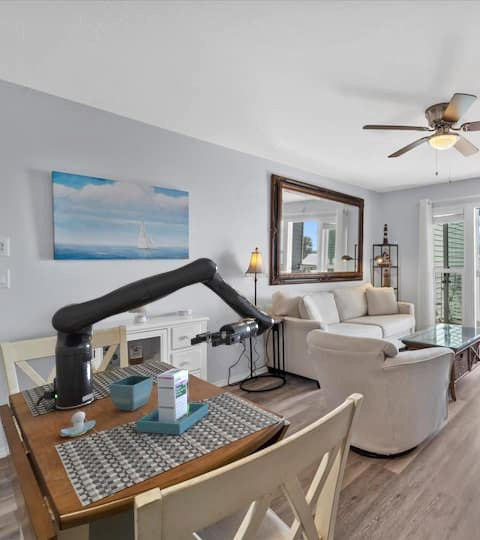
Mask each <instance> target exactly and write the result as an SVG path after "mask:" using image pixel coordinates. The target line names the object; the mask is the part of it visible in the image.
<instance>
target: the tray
mask: <svg viewBox="0 0 480 540" xmlns="http://www.w3.org/2000/svg"><path fill="white" fill-rule="evenodd" d="M208 414H209V403H202V402H201V403H200V402H189V416H188V417H187V418H186V419H184V420H183V421H181V422H180V423H169V422H159V409H158V408H156V409H154V410H152V411H151V412H149V413H147V414H146V415H144V416H142V417H141V418H138V419H137V420H136V421H135V433H149V434H150V433H151V434H163V435H164V434H165V435H176V436H177V435H178V436H180V435H181V434H183V433H184V432H185V431H187V430H188V429H189V428H191V427H192V426H193V425H194V424H196V423H197V422H199V421H200V420H201V419H203V418H204V417H205V416H206V415H208Z"/></svg>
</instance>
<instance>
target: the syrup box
mask: <svg viewBox="0 0 480 540" xmlns="http://www.w3.org/2000/svg"><path fill="white" fill-rule="evenodd" d="M156 377H157V378H156V379H157V403H158V404H157V405H158V408H157V409H159V422H169V423H180V422H181V421H183V420H184V419H186V418H187V417H188V416H189V403H190V391H189V389H190V388H189V387H190V386H189V370H188V369H186V368H171V369H169V370H166V371H164V372H161V373H159V374H157V376H156Z"/></svg>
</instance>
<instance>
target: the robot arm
mask: <svg viewBox="0 0 480 540" xmlns="http://www.w3.org/2000/svg"><path fill="white" fill-rule="evenodd" d="M197 284H202V285H203V286H204V287H206V288H207V289H209V290H210V291H212V292H213V293H214V294H215V295H217V296H218V297H219V298H220V299H221V301H222V302H224V303H225V304H226V305H227V306H228V307H229V308H230V309H231V310H232V311H233V312H234V313H235V314H236V315H238V317H240V318H241V319H242V320H239V321H233V322H230V323H225V324H223V325H222V326H221V327H220V328H219V329H218V330H215V331H205V332H202V333H197V334H196V335H195V337H193V338H191V339H190V346H196V345H199V344H203V343H206V344H211V347H212V348H216V347H219V346H232V345H234V344H237V343H240V342H243V341H245V340H247V339H249V338H257V337H260V336H262V335H263V334H264V333H266V332H267V331H268V330H270V329H271V328H272V327H273V326H274V324H275V320H274V318H273V316H272V315H271V314H270V313H269V312H267V311H265V310H263V309H262V308H260V307H258V306H256V305H254V304H253V303H252V302H251V301H250V300H249V299H248V298H247V297H246V296H245V295H244V294H243V293H241V292H240V291H239V290H238V289H236V288H235V287H233V286H232V285H231V284H230V283H228V282H227V281H226V280H225V279H224V278H223V277H222V276H221V274H220V273H219V272H218V265H217V263H216V262H215V261H214V260H213V259H211V258H208V257H199V258H197V259H195V260H193V261H191V262H189V263H187V264H185V265H183V266H181V267H178V268H175V269H172V270H169V271H168V270H167V271H165V272H160V273H157V274H153V275H150V276H146V277H143V278H140V279H137V280H134V281H132V282H129V283H126V284H125V285H122V286H120V287H117V288H116V289H114V290H111V291H110V292H108V293H106V294H104V295H101V296H99V297H96V298H93V299H90V300H89V299H88V300H85V301H83V302H73V303H69V304H68V303H67V304H66V305H64V306H62V307H60V308H58V309H57V310H56V311H55V312H54V314H53V315H52V317H51V326H52V328H53V329H54V330H55V331H56V343H55V347H54V359H55V363H54V364H55V377H54V378H53V381H52V382H53V388H50V389H48V390H45V391H43V395H42V396H40V397H39V398H38V399H37V401H36V403H35V407H39V406H40V404H41V402H42V401H43V400H45V401H52V400H53V407H54V408H56V410H59V411H66V410H67V411H69V410H74V409H78V408H82V407H84V406H88V405H90V404H92V403H93V402H94V401H95V399H94V380H93V379H94V375H93V374H94V373H93V371H94V370H93V342H94V341H93V339H94V325H95V324H97V323H99V322H102V321H103V320H106V319H108V318H111V317H113V316H117V315H121V314H124V313H128V312H130V311H133V310H134V311H135V310H137V309H139V308H142V307H145V306H148V305H150V304H153V303H155V302H158V301H160V300H162V299H165V298H166V297H169V296H170V295H172V294H174V293H176V292H177V291H179V290H181V289H184V288H186V287H189V286H193V285H197ZM250 318H253V319H250Z"/></svg>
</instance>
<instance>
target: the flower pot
mask: <svg viewBox="0 0 480 540" xmlns="http://www.w3.org/2000/svg"><path fill="white" fill-rule="evenodd" d="M153 383H154V376H151V375H135V374H132V375H128V376H126V377H123V378H120V379H117V380H115V381H112V382H111V383H108V389H109V395H110V400H111V402H112V404H113V405H114V407H115V408H116V409H118V410H119V411H129V412H133V411H135V410H137V409H139V408H141V407H143V406H145V405H146V404H147V402H148V401H149V398H150V396H151V394H152V390H153Z"/></svg>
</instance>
